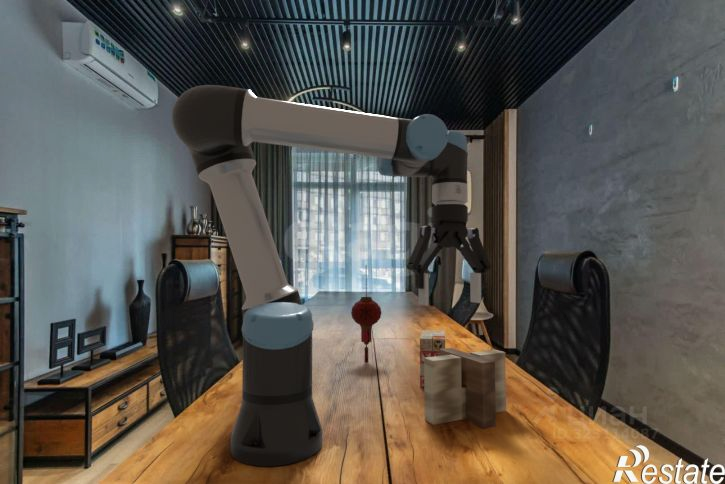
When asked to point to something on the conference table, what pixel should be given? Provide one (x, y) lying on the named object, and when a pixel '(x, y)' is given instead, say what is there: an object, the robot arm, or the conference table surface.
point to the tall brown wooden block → (477, 387)
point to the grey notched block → (456, 386)
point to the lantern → (366, 317)
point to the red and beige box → (430, 347)
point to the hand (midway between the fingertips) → (450, 303)
